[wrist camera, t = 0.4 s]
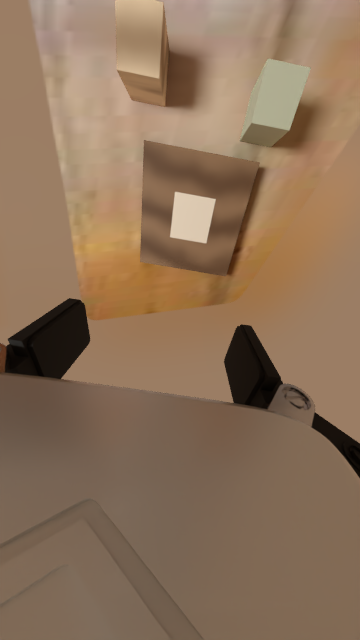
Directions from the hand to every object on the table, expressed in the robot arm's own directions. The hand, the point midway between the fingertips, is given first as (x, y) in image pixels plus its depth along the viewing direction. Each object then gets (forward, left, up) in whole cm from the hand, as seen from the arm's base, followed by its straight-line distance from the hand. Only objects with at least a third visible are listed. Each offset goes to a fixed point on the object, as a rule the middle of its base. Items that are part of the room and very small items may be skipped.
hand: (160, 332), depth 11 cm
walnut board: (-6, +1, -29) cm, 30 cm away
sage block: (-20, +9, -29) cm, 37 cm away
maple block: (-22, -8, -29) cm, 37 cm away
